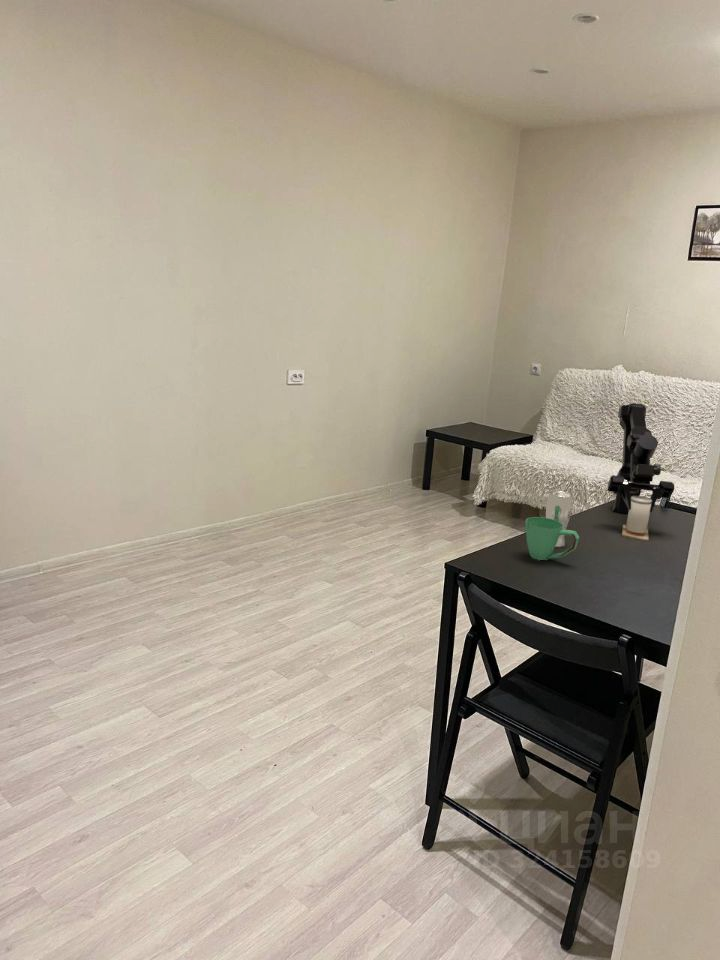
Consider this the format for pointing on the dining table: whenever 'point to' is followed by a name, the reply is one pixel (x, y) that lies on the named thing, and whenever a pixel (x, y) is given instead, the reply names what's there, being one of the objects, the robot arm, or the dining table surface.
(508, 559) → the dining table surface
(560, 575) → the dining table surface
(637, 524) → the white lidded jar
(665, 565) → the dining table surface
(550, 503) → the beer glass
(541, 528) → the mug
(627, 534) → the mat
